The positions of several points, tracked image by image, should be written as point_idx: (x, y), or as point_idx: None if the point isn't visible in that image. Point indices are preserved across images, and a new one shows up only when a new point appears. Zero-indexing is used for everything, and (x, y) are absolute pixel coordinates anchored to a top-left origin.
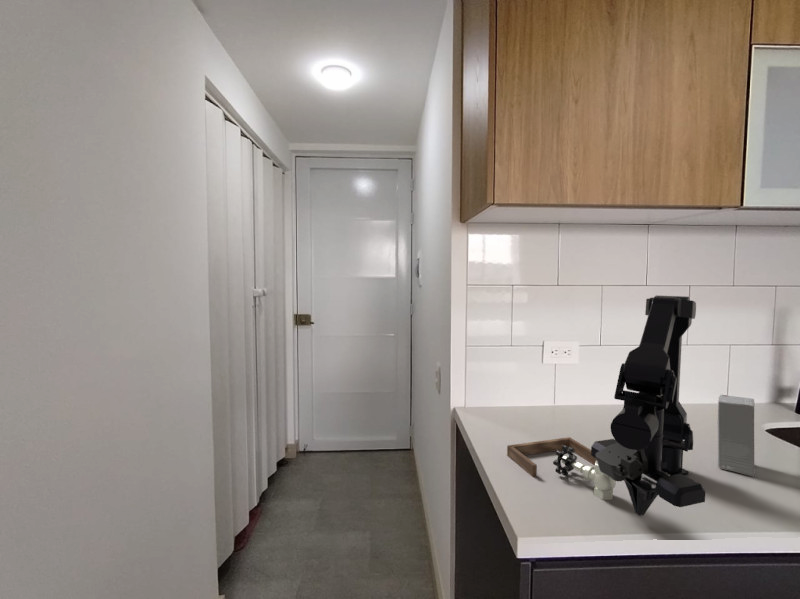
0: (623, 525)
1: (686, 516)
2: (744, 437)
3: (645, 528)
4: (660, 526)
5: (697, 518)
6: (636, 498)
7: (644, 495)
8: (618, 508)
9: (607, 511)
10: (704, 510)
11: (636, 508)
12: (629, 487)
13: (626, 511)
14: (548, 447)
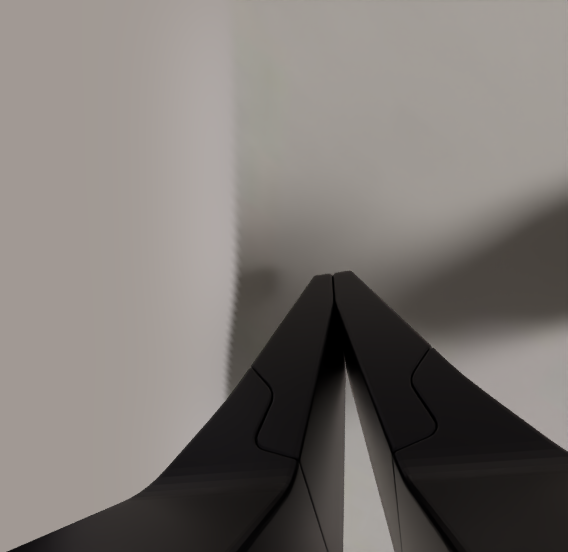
0: (313, 116)
1: None
2: None
3: (266, 251)
4: None
5: None
6: (352, 363)
7: (174, 462)
8: (515, 219)
9: (519, 99)
10: (364, 533)
11: (337, 294)
12: (446, 419)
13: (463, 251)
14: None
